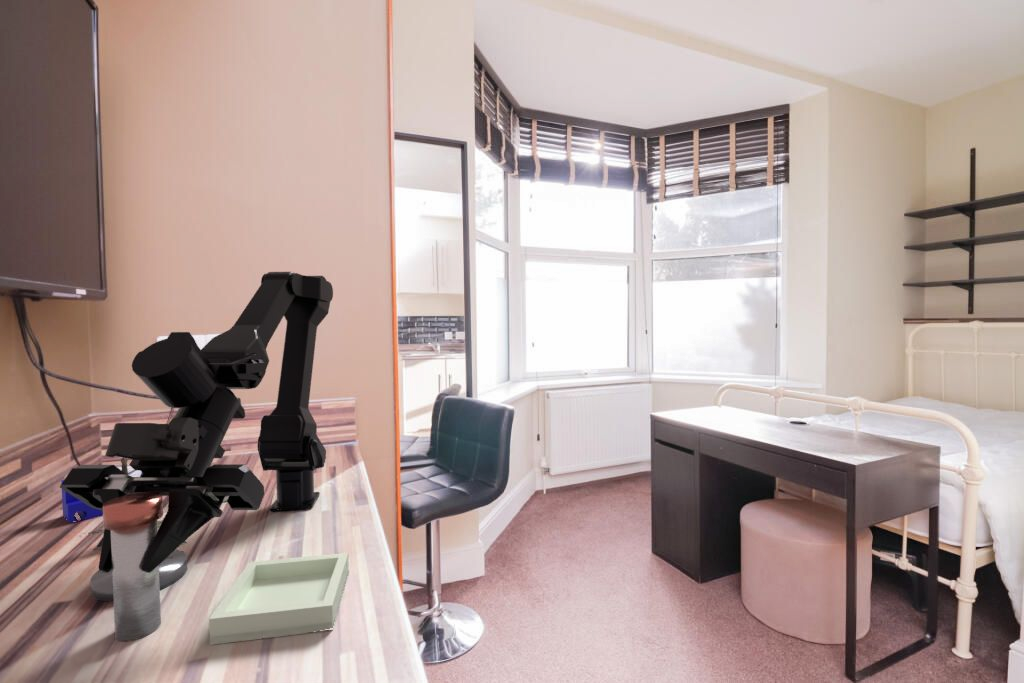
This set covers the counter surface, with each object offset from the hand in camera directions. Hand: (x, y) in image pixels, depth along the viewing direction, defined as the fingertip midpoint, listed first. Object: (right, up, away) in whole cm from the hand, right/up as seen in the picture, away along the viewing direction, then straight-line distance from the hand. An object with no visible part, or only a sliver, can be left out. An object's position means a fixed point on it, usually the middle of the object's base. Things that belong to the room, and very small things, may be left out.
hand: (124, 571), depth 46 cm
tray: (+13, -6, +6) cm, 16 cm away
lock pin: (0, -7, +2) cm, 7 cm away
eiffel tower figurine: (-16, -7, +22) cm, 28 cm away
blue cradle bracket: (-28, -6, +33) cm, 44 cm away
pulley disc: (-7, -6, +11) cm, 14 cm away
